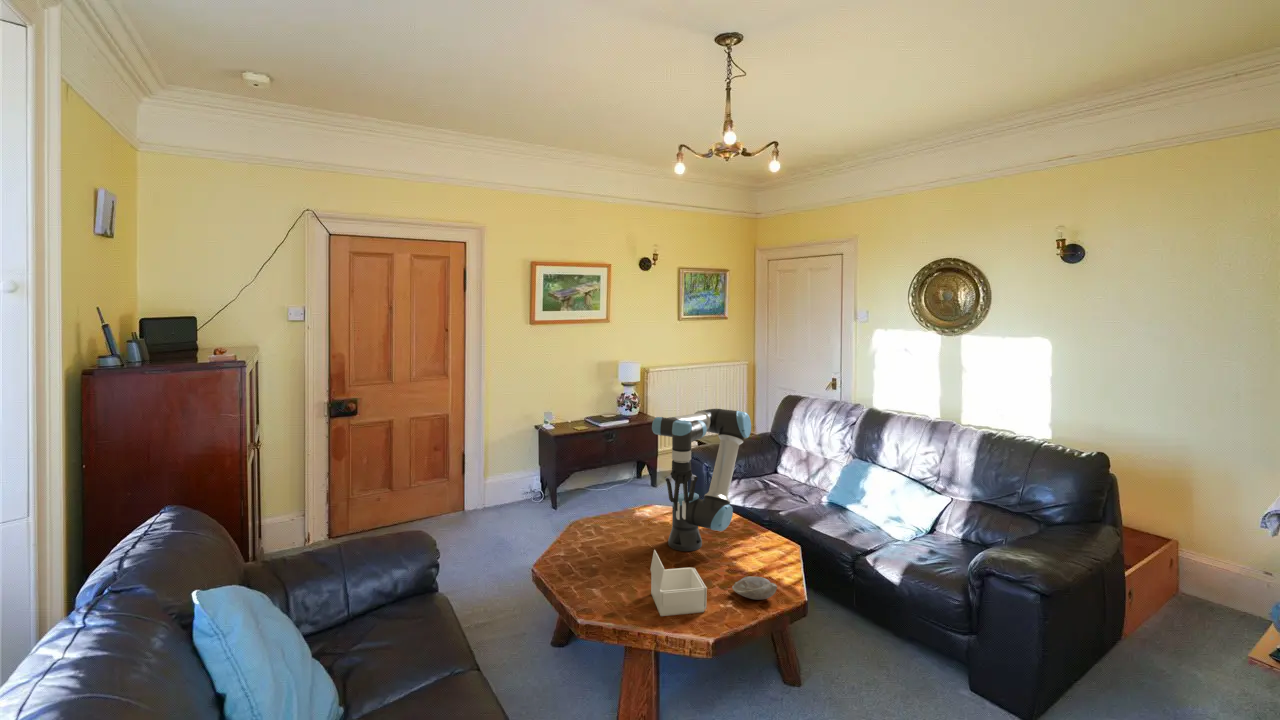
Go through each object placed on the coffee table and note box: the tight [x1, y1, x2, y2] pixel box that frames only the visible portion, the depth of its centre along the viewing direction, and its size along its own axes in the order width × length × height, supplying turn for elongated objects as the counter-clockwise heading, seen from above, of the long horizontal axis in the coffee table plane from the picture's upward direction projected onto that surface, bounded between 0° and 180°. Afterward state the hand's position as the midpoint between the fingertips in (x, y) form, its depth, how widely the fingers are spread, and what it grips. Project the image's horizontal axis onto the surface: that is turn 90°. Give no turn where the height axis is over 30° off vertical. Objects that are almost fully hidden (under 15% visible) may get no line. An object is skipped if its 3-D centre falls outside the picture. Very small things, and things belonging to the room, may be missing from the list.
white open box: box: [650, 567, 708, 617], centre depth 218 cm, size 17×18×9 cm
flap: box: [650, 549, 665, 590], centre depth 216 cm, size 8×16×1 cm
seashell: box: [731, 575, 778, 600], centre depth 222 cm, size 9×12×15 cm
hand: (680, 518), depth 236 cm, fingers open, 2 cm apart
